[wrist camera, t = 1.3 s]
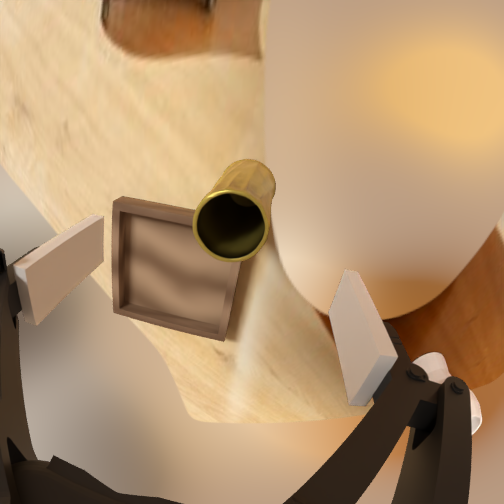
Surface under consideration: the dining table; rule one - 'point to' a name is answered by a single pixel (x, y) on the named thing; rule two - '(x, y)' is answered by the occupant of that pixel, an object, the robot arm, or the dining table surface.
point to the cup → (438, 373)
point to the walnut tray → (168, 270)
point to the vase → (236, 212)
